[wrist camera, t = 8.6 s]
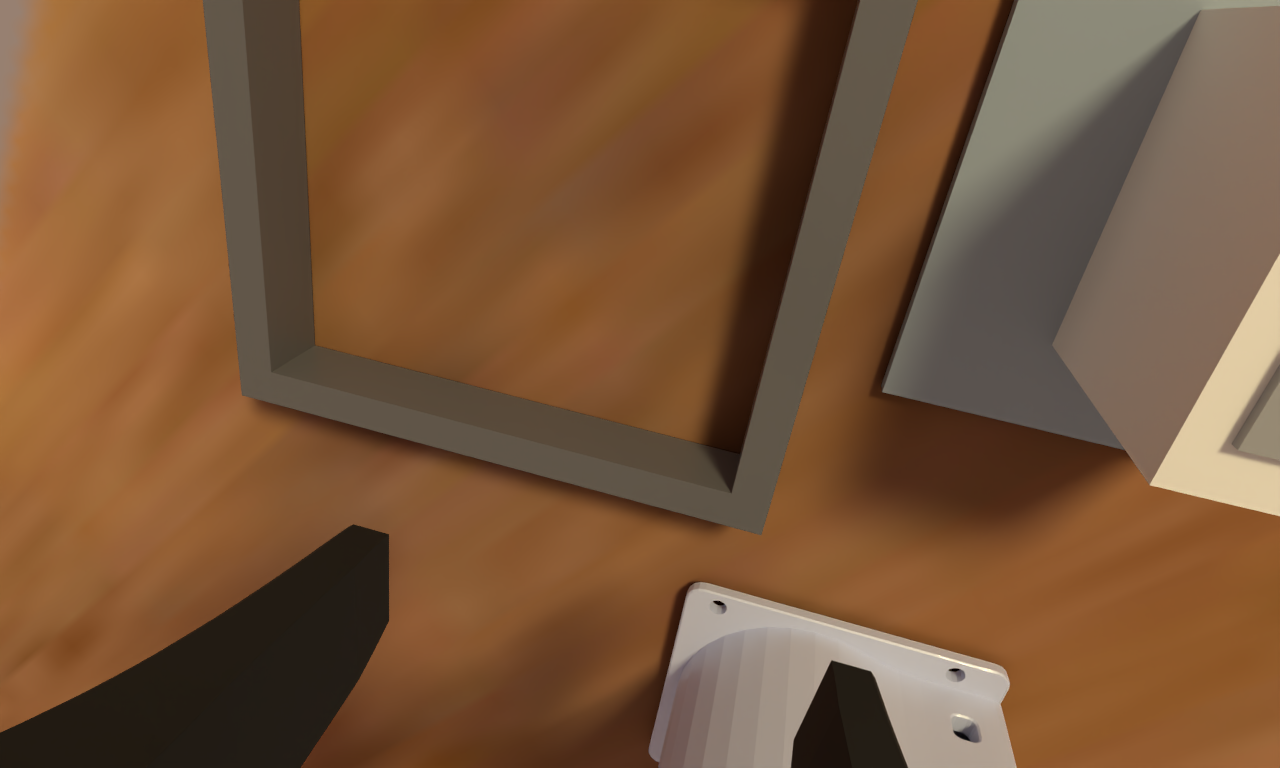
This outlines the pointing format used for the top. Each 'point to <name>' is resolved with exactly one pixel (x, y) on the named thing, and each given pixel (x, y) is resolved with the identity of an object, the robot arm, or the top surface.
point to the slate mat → (1036, 207)
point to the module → (1195, 276)
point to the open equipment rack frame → (483, 419)
